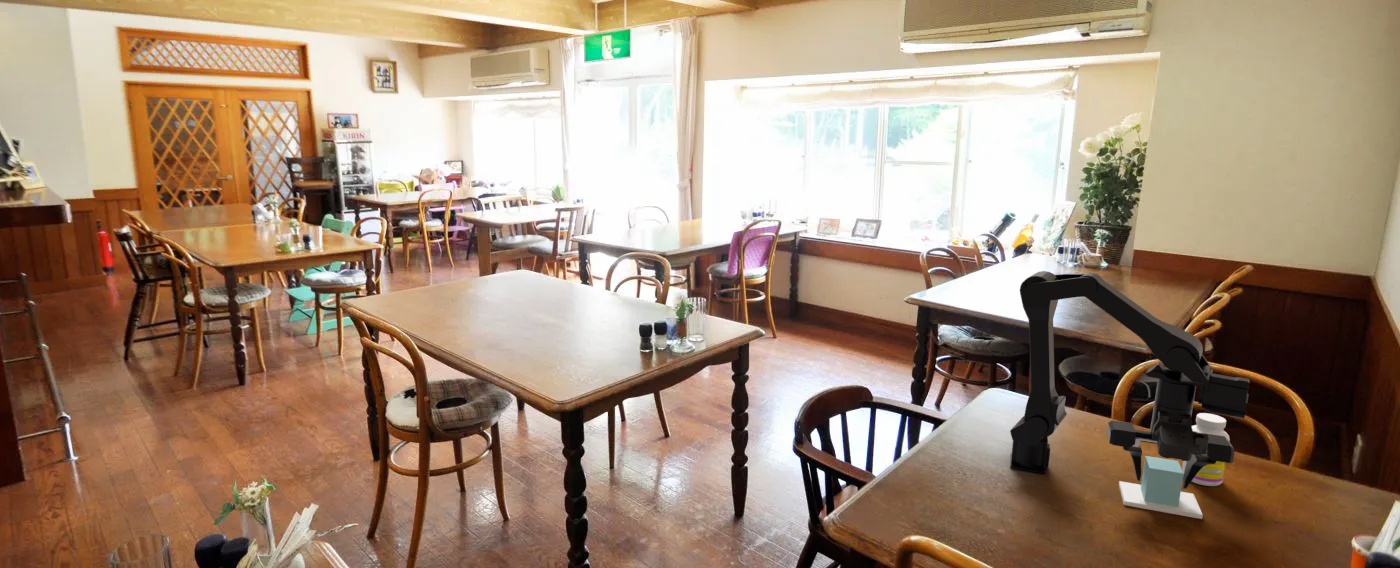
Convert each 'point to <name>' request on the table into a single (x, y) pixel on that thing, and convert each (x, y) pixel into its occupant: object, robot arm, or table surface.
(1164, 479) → the teal rectangular block
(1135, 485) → the post stand
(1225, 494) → the table surface
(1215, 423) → the supplement bottle
